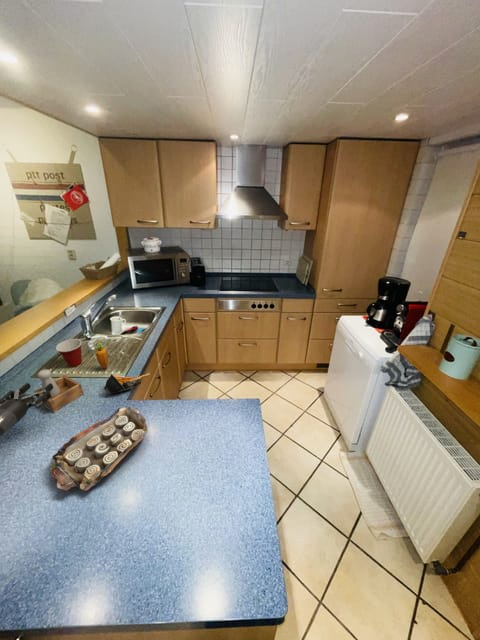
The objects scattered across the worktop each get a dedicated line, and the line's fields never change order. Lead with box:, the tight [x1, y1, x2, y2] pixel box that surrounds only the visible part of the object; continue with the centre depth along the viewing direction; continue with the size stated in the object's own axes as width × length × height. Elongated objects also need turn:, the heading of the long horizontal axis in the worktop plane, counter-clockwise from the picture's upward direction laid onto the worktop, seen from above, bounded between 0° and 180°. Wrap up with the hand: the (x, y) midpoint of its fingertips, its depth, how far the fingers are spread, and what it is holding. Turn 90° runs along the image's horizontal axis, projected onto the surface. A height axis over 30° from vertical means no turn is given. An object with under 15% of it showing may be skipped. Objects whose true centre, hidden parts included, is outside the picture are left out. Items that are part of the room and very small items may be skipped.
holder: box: [33, 375, 85, 413], centre depth 105 cm, size 12×12×6 cm
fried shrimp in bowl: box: [104, 372, 151, 395], centre depth 111 cm, size 9×11×18 cm
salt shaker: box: [37, 369, 60, 399], centre depth 102 cm, size 6×6×13 cm
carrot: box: [93, 341, 109, 370], centre depth 121 cm, size 5×5×15 cm
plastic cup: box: [55, 338, 83, 368], centre depth 125 cm, size 11×11×12 cm
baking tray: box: [49, 406, 149, 492], centre depth 83 cm, size 30×22×5 cm
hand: (40, 385), depth 94 cm, fingers open, 8 cm apart
